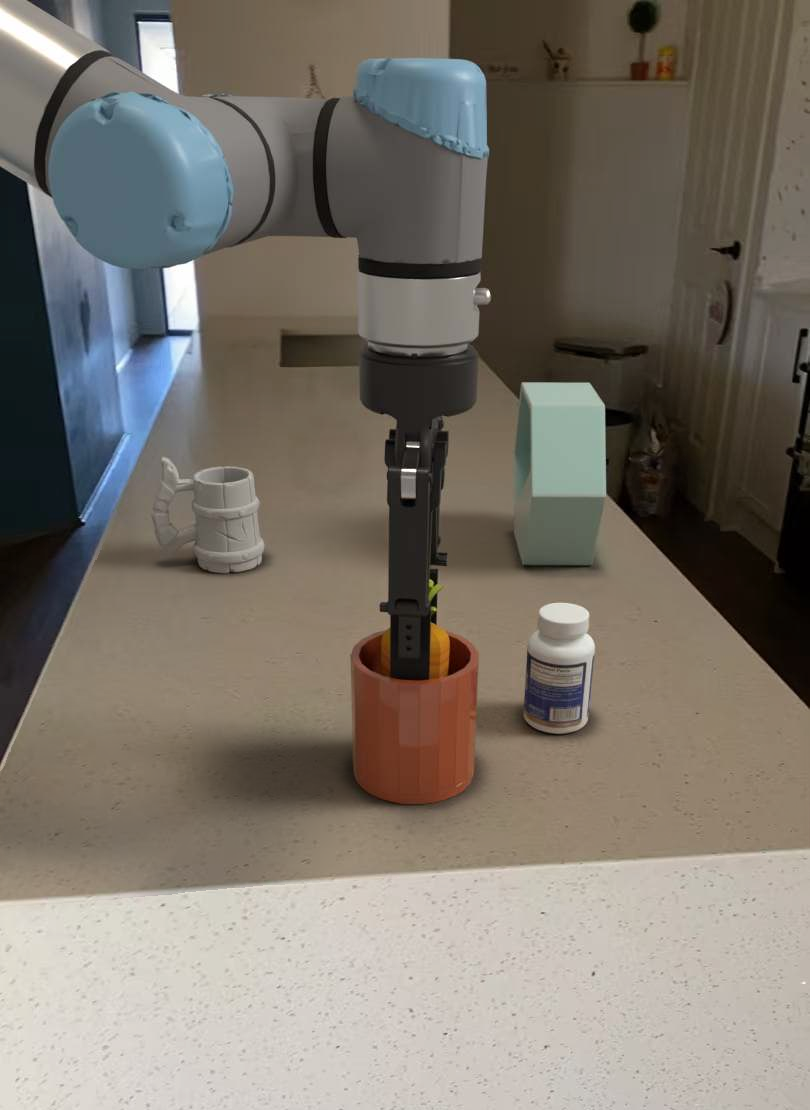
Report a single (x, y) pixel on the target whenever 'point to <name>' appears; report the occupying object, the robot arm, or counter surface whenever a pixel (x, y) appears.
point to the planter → (559, 473)
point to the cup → (414, 726)
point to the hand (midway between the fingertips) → (413, 670)
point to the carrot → (437, 645)
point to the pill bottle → (559, 670)
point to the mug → (212, 517)
